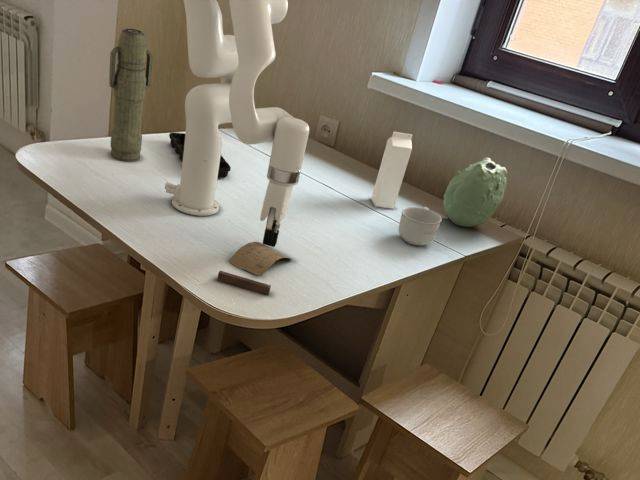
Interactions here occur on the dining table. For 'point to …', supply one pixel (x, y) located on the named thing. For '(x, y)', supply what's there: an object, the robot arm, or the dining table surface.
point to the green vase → (475, 193)
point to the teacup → (419, 225)
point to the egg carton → (178, 145)
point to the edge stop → (244, 282)
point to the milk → (392, 170)
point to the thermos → (129, 93)
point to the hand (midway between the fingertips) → (269, 244)
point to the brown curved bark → (255, 258)
